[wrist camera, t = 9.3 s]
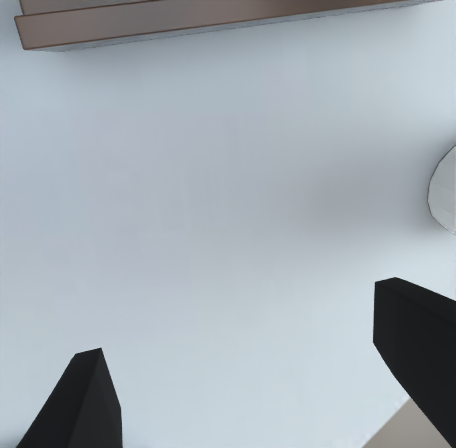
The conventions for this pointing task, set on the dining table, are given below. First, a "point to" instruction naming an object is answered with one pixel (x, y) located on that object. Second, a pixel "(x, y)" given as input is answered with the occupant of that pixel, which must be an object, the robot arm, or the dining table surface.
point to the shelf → (164, 18)
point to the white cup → (444, 192)
